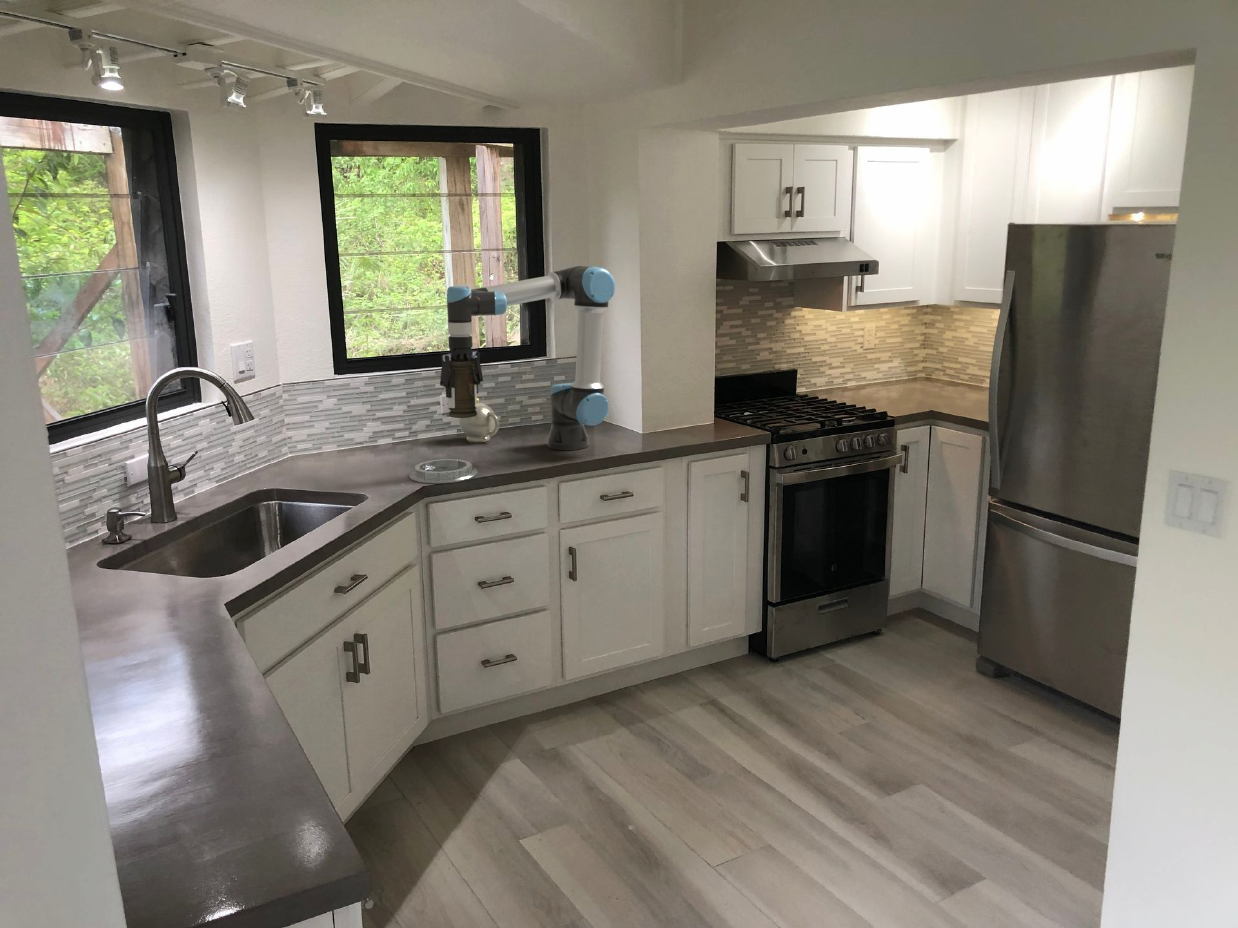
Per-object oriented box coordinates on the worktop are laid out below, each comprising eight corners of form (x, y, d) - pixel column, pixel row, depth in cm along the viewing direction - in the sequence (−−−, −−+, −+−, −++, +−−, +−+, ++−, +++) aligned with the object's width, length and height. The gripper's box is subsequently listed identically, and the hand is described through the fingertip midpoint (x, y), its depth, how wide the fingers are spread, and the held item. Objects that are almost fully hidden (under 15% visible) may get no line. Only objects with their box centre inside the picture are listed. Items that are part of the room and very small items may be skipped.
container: (451, 419, 309) (449, 363, 305) (446, 414, 318) (444, 359, 313) (479, 417, 312) (477, 361, 308) (474, 412, 320) (472, 358, 316)
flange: (472, 464, 330) (472, 455, 329) (482, 480, 309) (481, 471, 308) (407, 469, 324) (406, 460, 323) (412, 486, 303) (411, 476, 303)
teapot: (451, 441, 364) (448, 398, 360) (476, 435, 375) (474, 393, 371) (486, 447, 354) (484, 403, 350) (511, 440, 364) (509, 397, 360)
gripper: (478, 332, 319) (481, 400, 324) (425, 337, 304) (429, 408, 309) (493, 334, 314) (495, 403, 319) (440, 339, 299) (443, 411, 304)
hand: (462, 405), depth 314 cm, fingers closed on container, 8 cm apart
